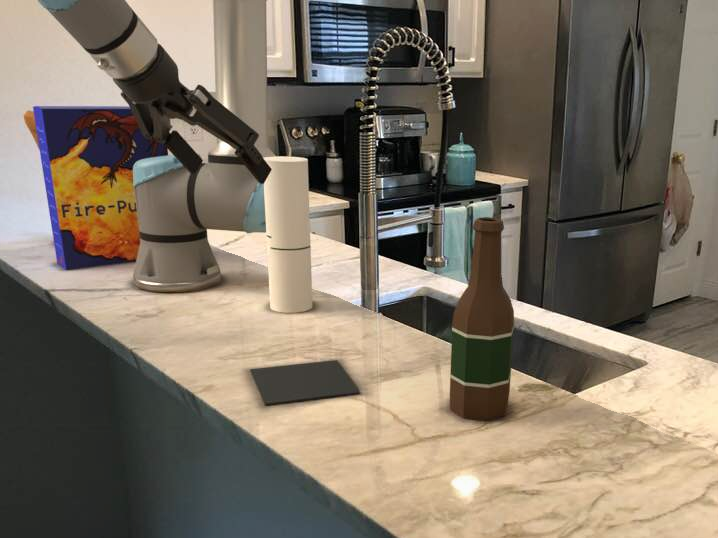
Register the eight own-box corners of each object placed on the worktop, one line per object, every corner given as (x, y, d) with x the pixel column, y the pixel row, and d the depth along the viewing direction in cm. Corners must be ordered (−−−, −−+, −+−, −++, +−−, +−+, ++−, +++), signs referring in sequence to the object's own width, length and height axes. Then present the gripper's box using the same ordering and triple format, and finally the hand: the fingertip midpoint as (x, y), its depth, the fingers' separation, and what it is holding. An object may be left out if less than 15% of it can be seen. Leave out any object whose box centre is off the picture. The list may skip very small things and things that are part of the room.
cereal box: (66, 270, 147) (41, 107, 137) (57, 263, 151) (32, 105, 141) (178, 256, 161) (163, 107, 150) (167, 250, 165) (152, 105, 154)
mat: (250, 371, 104) (250, 369, 104) (336, 361, 109) (336, 360, 109) (265, 405, 94) (265, 403, 94) (359, 393, 99) (359, 391, 99)
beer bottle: (520, 405, 98) (534, 219, 89) (490, 427, 91) (502, 228, 83) (468, 391, 101) (477, 210, 93) (436, 411, 95) (442, 219, 86)
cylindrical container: (300, 298, 137) (295, 155, 128) (319, 308, 132) (315, 160, 123) (263, 304, 133) (254, 157, 124) (281, 315, 127) (274, 162, 119)
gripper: (53, 77, 99) (158, 182, 117) (193, 88, 89) (284, 201, 107) (83, 35, 102) (182, 144, 120) (223, 41, 92) (308, 159, 110)
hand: (230, 171), depth 113 cm, fingers open, 13 cm apart
